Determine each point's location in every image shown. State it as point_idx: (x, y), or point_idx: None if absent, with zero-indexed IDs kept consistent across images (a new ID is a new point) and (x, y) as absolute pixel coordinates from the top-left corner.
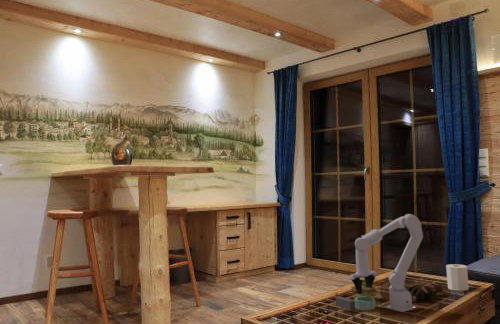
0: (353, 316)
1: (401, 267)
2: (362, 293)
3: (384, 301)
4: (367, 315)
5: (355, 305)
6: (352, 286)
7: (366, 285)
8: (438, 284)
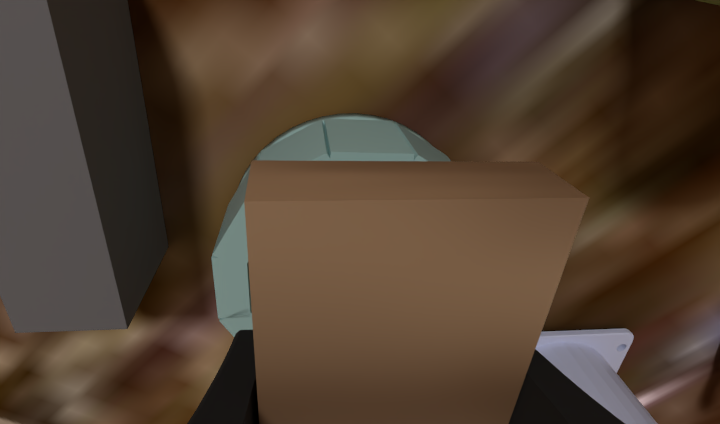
0: (29, 359)
1: None
2: None
3: (689, 182)
4: (178, 393)
5: (242, 181)
6: (282, 212)
7: (543, 407)
8: None
